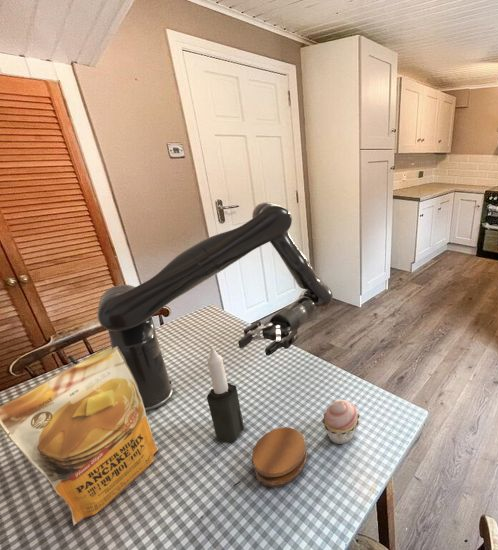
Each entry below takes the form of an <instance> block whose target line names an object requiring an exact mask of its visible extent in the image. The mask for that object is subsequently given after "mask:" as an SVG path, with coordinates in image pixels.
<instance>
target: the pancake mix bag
mask: <svg viewBox="0 0 498 550" xmlns="http://www.w3.org/2000/svg"><path fill="white" fill-rule="evenodd" d="M78 362H79V363H78V364H74V365H71V366H70V367H68V368H66V369H63V370H62V371H59V372H58V373H56V374H54V375H52V376H50V377H48V378H47V379H46V380H44V381H42V382H40V383H39V384H37V385H35V386H33V387H32V388H29V389H28V390H26V391H25V392H23V393H21V394H20V395H18V396H16V397H15V398H12V399H11V400H10V401H7V402H6V403H4V404H3V405H1V407H0V429H1V430H2V432H3V433H4V434H5V435H6V437H7V438H8V440H10V441H11V442H12V443H13V444H15V445H16V446H17V448H18V449H19V450H20V452H21V453H22V454H23V456H24V457H25V458H26V459H27V460H28V462H29V463H30V464H31V466H33V467H34V468H35V469H36V470H37V471H38V472H39V473H41V474H42V475H43V476H44V477H45V478H47V480H48V482H49V483H50V485H51V486H52V487H53V489H54V491H55V492H56V494H57V495H58V496H59V497H61V498H62V499H63V500H64V501H65V502H66V504H67V506H68V507H69V509H70V512H71V520H72V526H75V525H77V524H78V523H80V522H81V521H82V520H83V519H85V518H89V517H93V516H95V515H97V514H98V513H99V512H101V511H102V510H104V509H105V508H106V507H107V506H108V505H109V504H111V502H112V501H113V500H115V499H116V498H117V497H118V496H119V495H120V494H121V493H122V492H123V491H124V490H125V489H127V487H128V486H130V485H131V483H132V482H134V481H135V479H137V478H138V477H140V475H141V474H143V473H144V472H145V471H146V470H147V469H148V468H149V467H150V466H151V465H152V464H153V463H154V462H155V454H156V453H157V451H158V450H159V448H158V446H157V445H156V443H155V441H154V436H153V433H152V429H151V425H150V423H149V422H150V421H149V419H148V416H147V411H145V408H144V404H143V400H142V397H141V395H140V393H139V389H138V385H137V383H136V381H135V379H134V377H133V375H132V372H131V370H130V368H129V367H128V365H127V363H126V360H125V358H124V356H123V354H122V353H121V351H120V349H119V348H118V346H117V347H114V348H112V347H111V345H110V346H107V347H104V348H102V349H101V350H99V351H96V352H94V353H93V354H91V355H89V356H88V357H86V358H85V359H83V360H81V361H78Z"/></svg>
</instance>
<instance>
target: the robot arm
mask: <svg viewBox="0 0 498 550" xmlns="http://www.w3.org/2000/svg"><path fill="white" fill-rule="evenodd" d="M251 218H252V219H250V220H249V221H247V222H245V223H244V224H242V225H240V226H238V227H235V228H233V229H230V230H227V231H224V232H220V233H217V234H214V235H211V236H209V237H206V238H204V239H202V240H200V241H198V242H197V243H195V244H194V245H192V246H190V247H188V248H187V249H184V250H183V251H182V252H180V253H179V254H178V255H176V256H175V257H174V258H173V259H172V260H170V261H169V262H168V263H167V264H166V265H165V266H164V267H163V268H162V269H161V270H160V271H159V272H158V273H156V274H155V275H154V276H152V277H151V278H149V279H148V280H146V281H144V282H143V283H141V284H138V285H137V286H134V285H130V284H117V285H114V286H112V287H109V288H108V289H107V290H106V291H105V292H104V293H102V295H101V297H100V299H99V302H98V307H97V319H98V320H97V321H98V322H99V324H100V326H101V327H103V329H106V330H107V332H108V335H109V341H110V346H111V348H114V347H117V346H118V348H119V349H120V351H121V353H122V354H123V356H124V358H125V360H126V363H127V365H128V367H129V368H130V370H131V372H132V375H133V377H134V379H135V381H136V383H137V385H138V389H139V393H140V395H141V397H142V400H143V404H144V408H145V411H146V412H149V411H153V410H155V409H157V408H159V407H161V406H163V405H165V404H166V403H167V402H168V401H169V400H170V399H171V398H172V397H173V395H174V389H173V387H172V380H171V379H170V377H169V374H168V371H167V367H166V363H165V359H164V356H163V352H162V350H161V346H160V342H159V340H158V336H157V330H156V327H155V323H154V319H153V317H152V316H153V315H155V314H157V313H158V312H160V310H161V309H163V308H164V307H166V306H168V304H170V303H171V302H173V301H174V300H176V299H177V298H180V296H182V295H185V294H186V293H188V292H189V291H191V290H193V289H194V288H196V287H197V286H200V285H201V284H203V283H204V282H206V281H208V280H210V279H211V278H212V277H214V276H216V275H218V274H219V273H221V272H222V271H224V270H225V269H227V268H229V267H230V266H231V265H233V264H235V263H236V262H238V261H239V260H241V259H242V258H244V257H245V256H247V255H248V254H249V253H251V252H252V251H254V250H256V249H258V248H259V247H262V246H265V245H266V244H268V243H270V244H271V246H272V247H273V248H274V249H275V251H276V252H277V254H278V255H279V257H280V258H281V261H282V262H283V263H284V266H286V269H287V270H288V272H289V273H290V276H291V277H292V278H293V280H294V281H295V283H296V284H297V286H298V287H299V288H300V289H303V291H302V292H301V293H300V295H299V296H298V297H297V299H296V300H294V301H293V302H292V303H290V304H288V305H286V306H284V307H283V308H282V309H280V310H279V311H278V312H276V313H275V314H274V315H273V316H272V317H270V320H269V321H268V322H267V323H264V324H263V323H262V322H261V320H256V321H255V322H253V323H252V324H250V325H249V326H248V327H246V328H245V329H243V335H244V336H243V337H241V338H240V339H239V340H238V341H237V342H238V348H239V349H244V348H245V347H247V346H248V345H249V344H251V343H252V342H254V341H256V340H258V341H262V340H270V341H273V342H271V343H270V344H269V345H267V347H265V349H264V351H265V352H264V354H265V356H266V357H269V356H271V355H273V354H274V353H276V351H278V350H280V349H282V348H283V349H285V350H289V348H290V347H291V346H292V345H293V344H294V343H295V342H296V341H297V340H298V338H299V335H298V334H299V333H298V329H299V328H301V327H302V326H303V325H304V323H305V322H306V321H307V320H308V319H309V318H310V317H312V316H313V315H314V313H315V311H316V309H317V308H323V307H328V306H330V305H331V303H332V302H333V298H334V297H333V292H332V290H331V288H330V287H329V285H328V284H327V283H326V282H324V280H322V278H321V277H320V276H319V275H317V273H316V272H315V270H314V268H313V266H312V265H311V263H310V261H309V259H308V258H307V257H306V255H305V254H304V253H303V251H302V250H301V249H300V248H299V247H298V245H297V244H296V242H295V241H294V239H293V238H292V237H291V235H290V233H289V230H290V228H291V227H292V224H293V223H292V222H293V217H292V214H291V212H290V211H289V210H288V209H287V208H286V207H285V206H283V205H280V204H277V203H274V202H270V201H269V202H268V201H264V202H260V203H258V204H257V205H256V206H255V207H254V209H253V210H252V217H251ZM261 333H262V335H261ZM67 359H68V360H70V362H71V363H72V364H74V365H76V364H78V363H79V362H80V361H76V360H75V358H74V357H73V355H70V354H69V355H68V356H67ZM75 361H76V362H75Z"/></svg>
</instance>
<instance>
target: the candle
mask: <svg viewBox="0 0 498 550" xmlns="http://www.w3.org/2000/svg"><path fill="white" fill-rule="evenodd" d="M209 349H210V353H209V358H207V366H208V371H209V375H210V378H211V379H210V380H211V383H212V388H211V389H210V390H209V393H208V394H207V395H206V400H207V404H208V408H209V412H210V416H211V417H210V418H211V421H212V425H213V430H214V433H215V436H216V440H217V441H219V442H225V443H228V444H229V443H231V444H232V443H234V442H236V441H237V439H238V437H239V436H240V434H241V433H242V431H243V430H244V429H245V425H244V420H243V414H242V409H241V404H240V399H239V395H238V389H237V386H236V385H235V384H231V383H230V382H228V380H227V379H228V378H227V374H226V369H225V365H224V360H223V357H222V356H221V355H220V354H219V353H218V352H217V351H216V349H215V346H214V345H212V346H210V347H209Z"/></svg>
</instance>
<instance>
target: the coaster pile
mask: <svg viewBox="0 0 498 550" xmlns="http://www.w3.org/2000/svg"><path fill="white" fill-rule="evenodd" d="M307 457H308V453H307V447H306V440H305V437H304V436H303V434H302V433H301V432H300V431H299V430H297V429H295V428H292V427H285V426H284V427H278V428H274V429H271V430H269V431H268V432H267V433H265V434H264V435H262V436H261V437H260V438H259V439H258V440H257V442H256V444H255V445H254V448H253V450H252V456H251V462H252V467H253V471H254V472H253V473H254V476H255V478H256V480H257V481H258V482H259V483H260V484H261V485H262V486H264V487H267V488H274V489H275V488H280V487H284V486H286V485H289V484H291V483H293V482H294V481H295V480H296V479H297V478H298V477H299V476H300V475H301V473H303V470H304V469H305V466H306V463H307V460H308V459H307Z"/></svg>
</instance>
